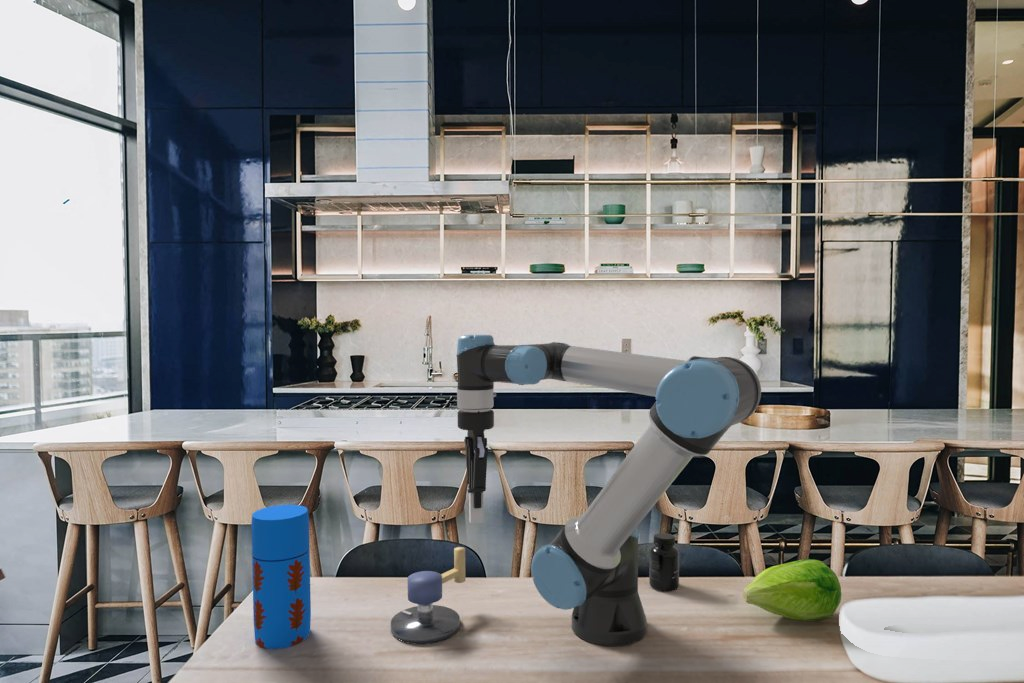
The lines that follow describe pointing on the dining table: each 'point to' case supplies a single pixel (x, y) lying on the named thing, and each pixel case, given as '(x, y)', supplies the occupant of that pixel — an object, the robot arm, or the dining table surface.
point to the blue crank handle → (435, 580)
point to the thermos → (281, 575)
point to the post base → (425, 624)
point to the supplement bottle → (664, 563)
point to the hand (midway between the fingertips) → (476, 521)
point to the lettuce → (796, 590)
